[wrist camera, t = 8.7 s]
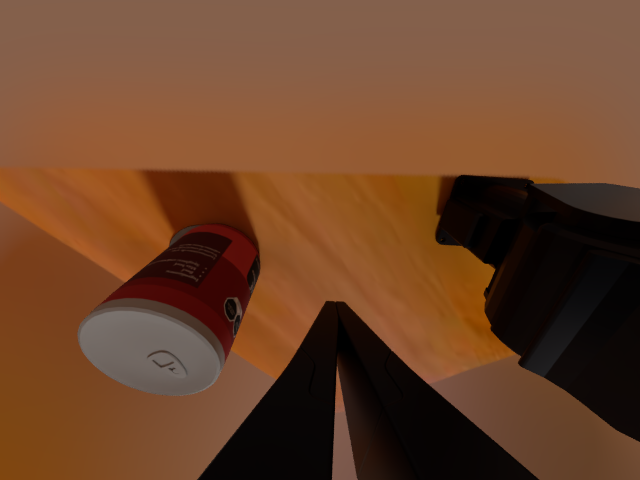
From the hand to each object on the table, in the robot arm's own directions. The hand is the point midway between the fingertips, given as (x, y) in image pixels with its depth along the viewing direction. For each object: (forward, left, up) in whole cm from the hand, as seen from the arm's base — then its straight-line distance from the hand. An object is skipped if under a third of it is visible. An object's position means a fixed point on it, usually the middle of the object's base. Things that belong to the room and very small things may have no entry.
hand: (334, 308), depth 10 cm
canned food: (+10, +5, -12) cm, 16 cm away
